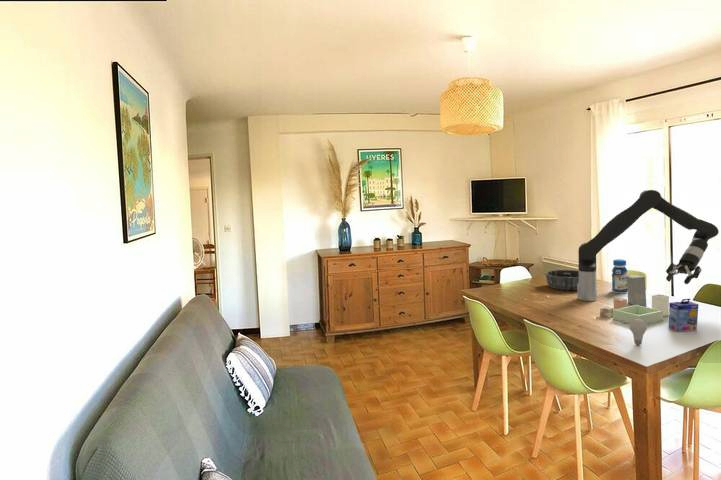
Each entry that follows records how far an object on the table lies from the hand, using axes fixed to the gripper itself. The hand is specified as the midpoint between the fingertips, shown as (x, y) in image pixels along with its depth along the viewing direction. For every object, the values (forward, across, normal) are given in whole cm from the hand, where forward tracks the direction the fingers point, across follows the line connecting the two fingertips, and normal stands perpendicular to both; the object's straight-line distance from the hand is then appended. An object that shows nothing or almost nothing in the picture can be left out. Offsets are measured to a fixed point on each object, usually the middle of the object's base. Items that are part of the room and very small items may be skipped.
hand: (676, 281), depth 217 cm
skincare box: (+12, -20, +10) cm, 26 cm away
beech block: (+35, -12, -13) cm, 39 cm away
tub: (+31, 0, -9) cm, 32 cm away
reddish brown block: (+27, -13, -5) cm, 31 cm away
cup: (+19, 0, +2) cm, 20 cm away
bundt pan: (+10, -70, +12) cm, 72 cm away
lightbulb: (+53, +23, -31) cm, 65 cm away
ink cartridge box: (+29, +19, -6) cm, 35 cm away
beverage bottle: (0, -44, +22) cm, 50 cm away
